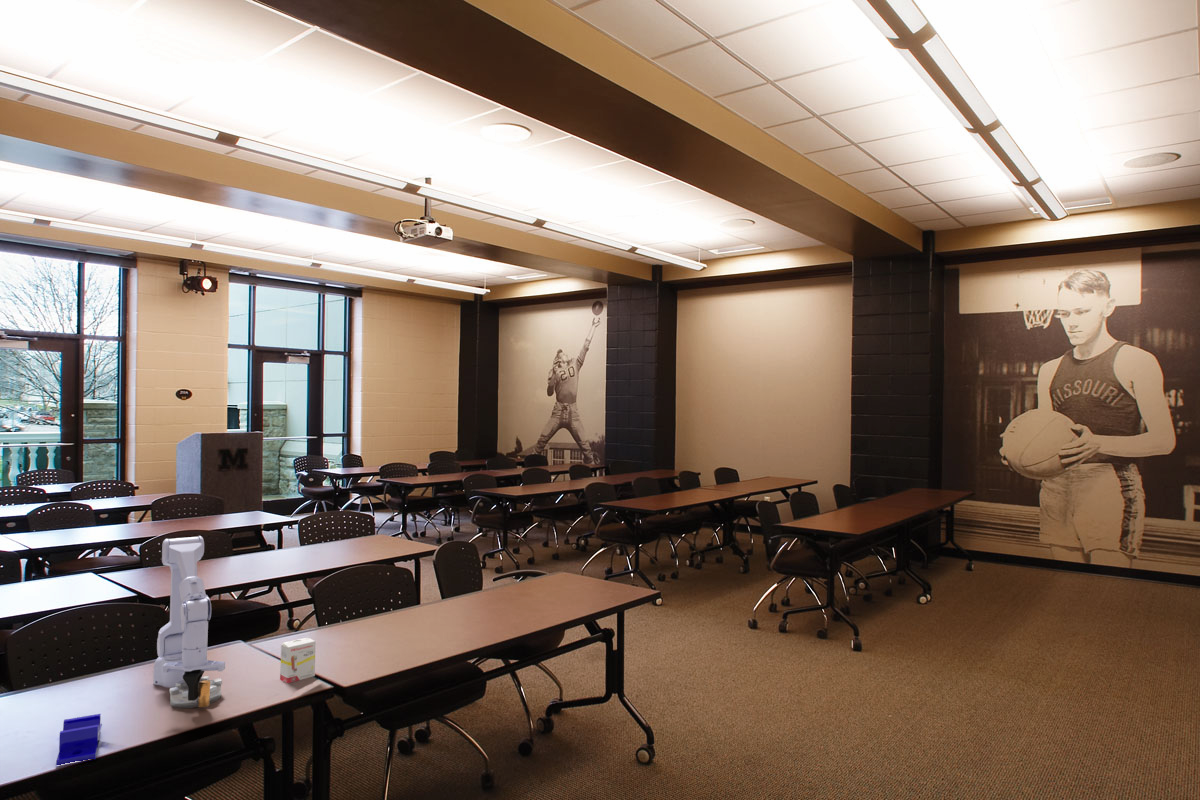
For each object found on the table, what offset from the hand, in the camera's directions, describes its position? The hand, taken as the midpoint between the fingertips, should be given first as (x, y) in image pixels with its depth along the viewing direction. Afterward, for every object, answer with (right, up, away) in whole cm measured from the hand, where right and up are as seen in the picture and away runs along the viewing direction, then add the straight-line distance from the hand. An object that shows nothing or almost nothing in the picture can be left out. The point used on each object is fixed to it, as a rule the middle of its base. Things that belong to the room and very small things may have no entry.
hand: (193, 699), depth 186 cm
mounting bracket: (-17, -5, -17) cm, 25 cm away
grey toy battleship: (-3, -4, +7) cm, 8 cm away
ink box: (+16, -6, +26) cm, 31 cm away
